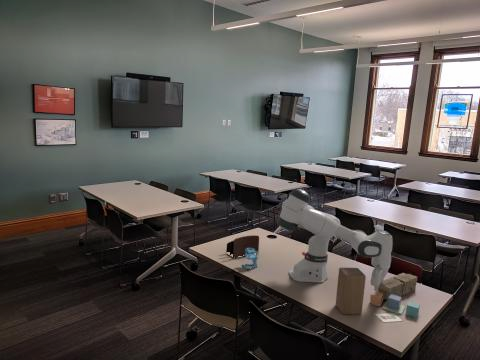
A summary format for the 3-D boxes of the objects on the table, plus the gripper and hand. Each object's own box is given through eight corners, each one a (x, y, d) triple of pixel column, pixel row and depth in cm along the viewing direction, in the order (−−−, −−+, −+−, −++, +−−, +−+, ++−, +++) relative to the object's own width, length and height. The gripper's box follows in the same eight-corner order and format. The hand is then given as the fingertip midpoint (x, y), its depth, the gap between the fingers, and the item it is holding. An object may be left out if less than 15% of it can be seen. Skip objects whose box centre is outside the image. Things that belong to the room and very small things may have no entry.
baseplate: (401, 315, 173) (403, 303, 173) (382, 308, 178) (383, 298, 178) (405, 307, 181) (406, 296, 180) (386, 302, 186) (387, 291, 185)
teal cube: (416, 318, 172) (418, 308, 171) (405, 314, 174) (406, 305, 174) (418, 313, 176) (419, 304, 175) (407, 310, 178) (408, 301, 178)
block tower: (402, 286, 208) (374, 296, 189) (404, 272, 207) (376, 281, 188) (415, 291, 201) (388, 302, 183) (418, 277, 200) (390, 286, 182)
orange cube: (379, 306, 181) (381, 297, 180) (369, 303, 184) (370, 294, 183) (382, 302, 185) (383, 293, 184) (372, 299, 188) (373, 290, 187)
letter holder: (258, 254, 244) (259, 234, 242) (233, 259, 234) (234, 238, 232) (250, 249, 253) (251, 230, 250) (225, 254, 242) (226, 233, 240)
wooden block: (334, 304, 181) (338, 266, 177) (354, 304, 181) (358, 267, 178) (342, 315, 171) (346, 275, 168) (362, 315, 172) (366, 275, 168)
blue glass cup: (259, 268, 220) (260, 250, 218) (246, 270, 217) (247, 251, 215) (254, 264, 227) (255, 245, 226) (242, 265, 224) (243, 246, 223)
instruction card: (383, 322, 166) (383, 321, 166) (374, 314, 173) (374, 313, 173) (402, 321, 168) (402, 320, 168) (393, 313, 175) (393, 312, 175)
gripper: (382, 270, 171) (379, 297, 173) (392, 257, 187) (389, 282, 190) (368, 267, 174) (366, 293, 177) (379, 254, 191) (377, 279, 193)
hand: (378, 287), depth 183 cm, fingers open, 6 cm apart
